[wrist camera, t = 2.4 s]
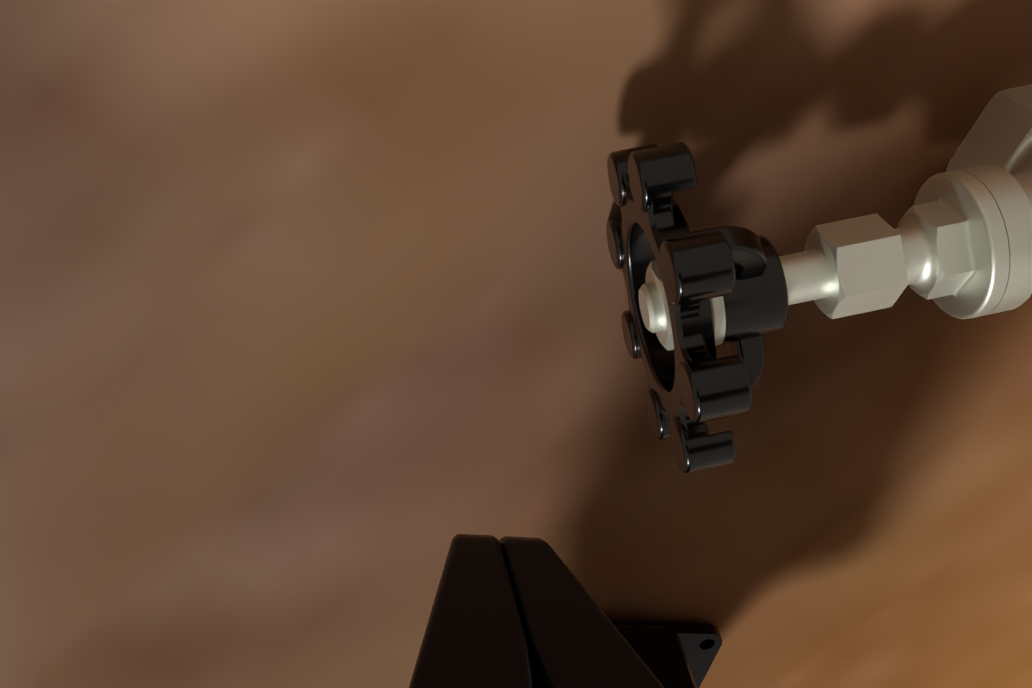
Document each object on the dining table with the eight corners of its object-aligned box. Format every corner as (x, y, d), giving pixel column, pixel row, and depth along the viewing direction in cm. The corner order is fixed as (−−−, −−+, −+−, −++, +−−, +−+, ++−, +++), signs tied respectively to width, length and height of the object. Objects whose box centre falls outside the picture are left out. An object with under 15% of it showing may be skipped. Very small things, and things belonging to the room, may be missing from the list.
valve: (1143, -13, 19) (592, 93, 18) (1459, 84, 13) (689, 239, 13) (1076, 256, 23) (616, 350, 22) (1301, 416, 17) (700, 545, 17)
